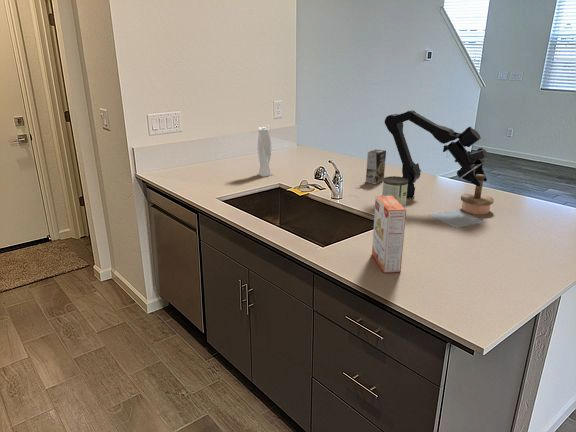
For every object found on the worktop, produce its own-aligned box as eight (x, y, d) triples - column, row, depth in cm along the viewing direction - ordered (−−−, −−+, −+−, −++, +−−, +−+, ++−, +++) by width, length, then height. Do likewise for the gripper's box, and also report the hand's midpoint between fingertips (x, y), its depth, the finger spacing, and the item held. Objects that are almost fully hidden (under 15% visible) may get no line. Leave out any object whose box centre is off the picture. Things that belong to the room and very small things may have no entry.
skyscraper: (275, 176, 246) (275, 124, 236) (263, 178, 242) (262, 125, 232) (267, 172, 252) (266, 122, 243) (255, 175, 248) (253, 123, 238)
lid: (480, 207, 184) (484, 181, 180) (454, 198, 194) (457, 173, 190) (499, 202, 190) (504, 176, 186) (473, 194, 201) (477, 169, 197)
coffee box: (376, 184, 231) (378, 153, 225) (365, 182, 234) (367, 151, 229) (384, 180, 237) (386, 150, 232) (373, 178, 241) (375, 148, 235)
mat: (455, 228, 174) (455, 227, 174) (427, 215, 188) (427, 214, 187) (486, 222, 180) (486, 221, 180) (457, 210, 194) (457, 209, 194)
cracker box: (370, 254, 152) (374, 195, 145) (388, 253, 152) (393, 194, 145) (382, 273, 139) (387, 209, 131) (401, 273, 139) (407, 209, 132)
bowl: (468, 215, 188) (470, 205, 187) (457, 206, 198) (458, 196, 197) (494, 214, 189) (495, 204, 187) (481, 206, 199) (483, 196, 198)
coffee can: (382, 206, 199) (384, 175, 194) (406, 208, 196) (409, 177, 191) (378, 213, 190) (381, 181, 185) (403, 216, 186) (407, 183, 182)
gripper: (468, 145, 179) (493, 177, 176) (482, 138, 193) (505, 168, 190) (446, 162, 186) (470, 192, 184) (461, 154, 200) (483, 182, 198)
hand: (483, 183), depth 189 cm, fingers open, 9 cm apart
